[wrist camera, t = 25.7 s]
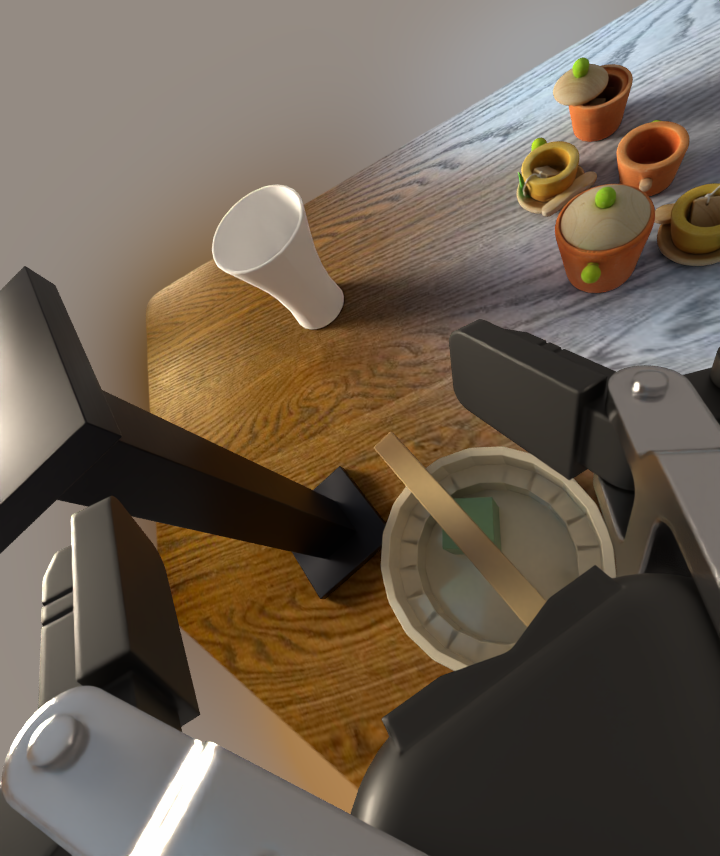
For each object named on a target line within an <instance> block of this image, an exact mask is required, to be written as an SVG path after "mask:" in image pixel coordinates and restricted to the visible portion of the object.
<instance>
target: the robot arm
mask: <svg viewBox="0 0 720 856" xmlns="http://www.w3.org/2000/svg"><path fill="white" fill-rule="evenodd" d="M449 347H450V357H451V368H452V379H453V388H454V391H455V394H456V396H457V398H458V400H459V401H460V403H461V404H462V405H463V406H464V407H465V408H466V409H467V410H469V411H470V412H471V413H473V414H474V415H476V416H477V417H479V418H480V419H482V420H483V421H484V422H486V423H487V424H489V425H490V426H492V427H493V428H494V429H496V430H497V431H499V432H500V433H502V434H503V435H505V436H506V437H507V438H509V439H510V440H512V441H513V442H515V443H516V444H517V445H519V446H520V447H522V448H523V449H525V450H526V451H527V452H529V453H530V454H532V455H533V456H535V457H536V458H538V459H539V460H540V461H542V462H543V463H545V464H546V465H548V466H549V467H550V468H552V469H553V470H555V471H556V472H558V473H559V474H561V475H562V476H563V477H565V478H566V479H568V480H571V479H573V478H574V477H576V476H577V475H579V474H580V473H582V472H584V471H585V470H587V469H589V470H590V471H592V472H593V473H594V478H593V485H594V489H595V492H596V495H597V498H598V501H599V505H600V508H601V511H602V514H603V517H604V521H605V524H606V527H607V530H608V533H609V536H610V540H611V543H612V546H613V549H614V553H615V558H616V575H617V577H615V578H611V577H610V576H608V575H607V574H606V573H605V572H603V571H602V570H601V569H600V568H599V567H597V566H596V565H594V566H593V567H592V568H590V569H589V570H587V571H586V572H585V573H583V574H582V575H580V576H579V577H578V578H576V579H575V580H573V581H572V582H571V583H569V584H568V585H567V586H565V587H564V588H562V589H561V590H560V591H558V592H557V593H555V594H554V595H553V596H551V597H550V598H549V599H548V600H547V601H546V603H545V604H544V605H543V607H542V608H541V609H540V611H539V612H538V614H537V615H536V616H535V618H534V619H533V620H532V622H531V623H530V624H529V626H528V627H527V629H526V630H525V631H524V633H523V634H522V635H521V637H520V638H519V639H518V641H517V642H516V644H515V645H514V646H513V647H512V648H511V649H510V650H509V651H507V652H505V653H503V654H501V655H498V656H495V657H492V658H490V659H487V660H484V661H481V662H479V663H476V664H473V665H470V666H467V667H465V668H462V669H459V670H456V671H454V672H451V673H448V674H445V675H443V676H440V677H439V678H437V679H436V680H434V681H433V682H432V683H430V684H429V685H428V686H426V687H425V688H423V689H422V690H421V691H419V692H418V693H416V694H415V695H414V696H412V697H411V698H409V699H408V700H407V701H405V702H404V703H403V704H401V705H400V706H398V707H397V708H396V709H394V710H393V711H391V712H390V713H389V714H387V715H386V716H384V717H383V718H382V721H383V723H384V725H385V727H386V730H387V732H388V734H389V736H390V737H389V738H388V739H387V740H386V742H385V743H384V744H383V746H382V747H381V748H380V750H379V751H378V753H377V754H376V756H375V758H374V759H373V761H372V763H371V764H370V766H369V768H368V769H367V772H366V774H365V776H364V778H363V780H362V783H361V785H360V787H359V789H358V793H357V796H356V799H355V802H354V805H353V808H352V811H351V814H349V813H347V812H345V811H343V810H341V809H339V808H337V807H335V806H334V805H332V804H330V803H328V802H326V801H324V800H322V799H320V798H318V797H316V796H314V795H312V794H311V793H309V792H307V791H305V790H303V789H301V788H299V787H297V786H295V785H293V784H291V783H290V782H288V781H286V780H284V779H282V778H280V777H278V776H276V775H274V774H272V773H271V772H269V771H267V770H265V769H263V768H261V767H259V766H257V765H255V764H253V763H251V762H250V761H248V760H246V759H244V758H242V757H240V756H238V755H236V754H234V753H232V752H231V751H229V750H226V749H225V748H223V747H221V746H219V745H216V744H214V743H211V742H208V741H206V742H205V743H202V742H200V741H198V740H196V739H193V738H192V737H190V736H188V735H186V734H184V733H182V729H181V727H182V726H183V725H185V724H186V723H188V722H189V721H191V720H193V719H194V718H196V717H197V716H199V715H200V712H199V708H198V703H197V699H196V695H195V691H194V687H193V683H192V679H191V675H190V670H189V666H188V662H187V657H186V653H185V649H184V646H183V641H182V637H181V633H180V628H179V624H178V620H177V616H176V612H175V607H174V603H173V599H172V595H171V591H170V587H169V582H168V578H167V574H166V570H165V567H164V564H163V562H162V559H161V557H160V555H159V553H158V551H157V550H156V548H155V546H154V545H153V543H152V542H151V541H150V540H149V538H148V537H147V536H146V534H145V533H144V532H143V531H142V529H141V528H140V527H139V525H138V524H137V523H136V522H135V520H134V519H133V518H132V517H131V515H130V514H129V513H128V511H127V510H126V509H125V508H124V506H123V505H122V504H121V503H120V501H119V500H118V499H117V498H115V497H114V496H110V497H108V498H106V499H104V500H102V501H100V502H97V503H95V504H93V505H91V506H89V507H87V508H85V509H83V510H81V511H79V512H77V513H75V514H73V515H72V517H71V539H72V545H70V546H68V547H66V548H64V549H62V550H60V551H58V552H56V553H55V555H54V557H53V559H52V561H51V563H50V565H49V568H48V569H47V571H46V574H45V576H44V578H43V589H42V603H43V605H44V607H43V608H42V619H41V620H42V621H41V623H42V625H43V628H41V647H40V675H39V676H40V677H39V705H38V711H37V712H36V713H35V714H34V715H33V716H32V717H31V718H30V719H29V721H28V722H27V723H26V724H25V726H24V727H23V728H22V730H21V731H20V732H19V734H18V736H17V737H16V739H15V741H14V742H13V744H12V746H11V748H10V750H9V752H8V755H7V758H6V761H5V763H4V767H3V772H2V781H1V782H0V856H720V347H719V348H718V351H717V353H716V357H715V360H714V363H713V366H712V368H708V369H704V370H700V371H697V372H693V373H689V374H685V375H682V374H680V373H678V372H676V371H673V370H670V369H667V368H663V367H658V366H646V365H644V366H632V367H628V368H624V369H622V370H619V371H617V372H616V371H613V370H611V369H609V368H607V367H604V366H602V365H600V364H597V363H595V362H593V361H591V360H588V359H586V358H584V357H582V356H579V355H577V354H575V353H573V352H570V351H568V350H566V349H563V350H562V349H561V347H559V346H557V345H555V344H552V343H550V342H549V343H546V341H545V340H543V339H541V338H539V337H536V336H534V335H532V334H530V333H527V332H521V331H514V330H508V329H503V328H501V327H498V326H496V325H494V324H492V323H490V322H487V321H485V320H482V319H479V320H476V321H474V322H472V323H470V324H468V325H466V326H464V327H462V328H460V329H458V330H456V331H454V332H452V333H451V335H450V338H449Z"/></svg>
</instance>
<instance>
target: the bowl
mask: <svg viewBox="0 0 720 856" xmlns="http://www.w3.org/2000/svg"><path fill="white" fill-rule="evenodd" d="M426 469H427V470H428V471H429V472H430V474H431V475H432V476H433V477H434V478H435V479H436V480H437V481H438V482H439V483H440V485H441V486H442V487H443V488H444V489H445V490H446V491H447V492H448V493H449V494H450V496H451V497H452V498H477V497H492V498H493V499H494V501H495V502H496V504H497V505H498V507H499V519H500V536H501V551H502V553H503V554H504V555H505V556H506V557H507V558H508V559H509V560H510V561H511V562H512V564H513V565H514V566H515V567H516V568H517V569H518V570H519V571H520V572H521V573H522V575H523V576H524V577H525V578H526V579H527V580H528V581H529V582H530V583H531V584H532V585H533V587H534V588H535V589H536V590H537V591H538V592H539V593H540V594H541V595H542V596H543V598H544V599H545V600H546V601H547V600H548V599H549V598H550V597H551V596H553V595H554V594H555V593H557V592H558V591H560V590H561V589H562V588H564V587H565V586H567V585H568V584H569V583H571V582H572V581H573V580H575V579H576V578H578V577H579V576H580V575H582V574H583V573H585V572H586V571H587V570H589V569H590V568H592V567H593V566H594V565H596V566H597V567H599V568H600V569H601V570H602V571H603V572H605V573H606V574H607V575H608V576H610V577H611V578H615V577H616V568H615V558H614V549H613V546H612V543H611V540H610V536H609V533H608V530H607V527H606V524H605V522H604V520H603V518H602V515H601V513H600V511H599V509H598V507H597V505H596V503H595V502H594V501H593V500H592V498H591V497H590V496H589V495H588V494H587V493H586V492H585V491H584V490H583V489H582V487H581V486H580V485H579V484H578V483H577V482H576V481H575V480H574V479H571V480H568V479H566V478H565V477H563V476H562V475H561V474H559V473H558V472H556V471H555V470H553V469H552V468H550V467H549V466H548V465H546V464H545V463H543V462H542V461H540V460H539V459H538V458H536V457H535V456H533V455H532V454H530V453H526V452H522V451H518V450H514V449H510V448H506V447H483V448H469V449H466V450H463V451H460V452H457V453H454V454H451V455H449V456H446V457H443V458H440V459H438V460H436V461H435V462H434V463H432V464H431V465H430V466H428V467H427V468H426ZM381 571H382V576H383V580H384V584H385V589H386V593H387V598H388V601H389V604H390V605H391V607H392V609H393V611H394V613H395V614H396V616H397V618H398V620H399V622H400V623H401V625H402V627H403V629H404V631H405V632H406V633H407V635H408V636H409V637H410V638H411V639H412V640H413V641H414V642H415V643H416V644H417V645H418V646H419V647H420V648H421V649H423V650H424V651H425V652H426V653H427V654H428V655H429V656H430V657H431V658H432V659H433V660H434V661H436V662H438V663H440V664H442V665H444V666H446V667H448V668H450V669H452V670H454V671H456V670H459V669H462V668H465V667H467V666H470V665H473V664H476V663H479V662H481V661H484V660H487V659H490V658H492V657H495V656H498V655H501V654H503V653H505V652H507V651H509V650H510V649H511V648H512V647H513V646H514V645H515V644H516V642H517V641H518V639H519V638H520V637H521V635H522V634H523V633H524V631H525V630H526V629H527V626H526V625H525V624H524V623H523V622H522V621H521V619H520V618H519V617H518V616H517V615H516V614H515V612H514V611H513V610H512V609H511V608H510V607H509V605H508V604H507V603H506V602H505V601H504V600H503V598H502V597H501V596H500V595H499V594H498V593H497V591H496V590H495V589H494V588H493V587H492V586H491V584H490V583H489V582H488V581H487V580H486V579H485V577H484V576H483V575H482V574H481V573H480V572H479V570H478V569H477V568H476V567H475V566H474V565H473V563H472V562H471V561H470V560H469V559H468V558H467V556H466V555H455V554H452V553H450V552H448V551H446V550H444V549H443V548H442V527H441V526H440V525H439V524H438V523H437V521H436V520H435V519H434V518H433V517H432V516H431V514H430V513H429V512H428V511H427V510H426V509H425V507H424V506H423V505H422V504H421V503H420V502H419V500H418V499H417V498H416V497H415V496H414V495H413V493H412V492H411V491H410V490H409V489H408V488H407V486H406V488H405V489H404V490H403V492H402V493H401V494H400V496H399V497H398V498H397V500H396V501H395V502H394V504H393V507H392V510H391V512H390V515H389V518H388V521H387V523H386V526H385V529H384V531H383V537H382V553H381Z"/></svg>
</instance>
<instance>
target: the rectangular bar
mask: <svg viewBox="0 0 720 856" xmlns="http://www.w3.org/2000/svg"><path fill="white" fill-rule="evenodd" d="M374 449H375V450H376V451H377V453H378V454H379V455H380V456H381V457H382V458H383V460H384V461H385V462H386V463H387V464H388V465H389V467H390V468H391V469H392V470H393V471H394V472H395V474H396V475H397V476H398V477H399V478H400V479H401V481H402V482H403V483H404V484H405V485H406V486H407V488H408V489H409V490H410V491H411V492H412V493H413V495H414V496H415V497H416V498H417V499H418V500H419V502H420V503H421V504H422V505H423V506H424V507H425V509H426V510H427V511H428V512H429V513H430V514H431V516H432V517H433V518H434V519H435V520H436V521H437V523H438V524H439V525H440V526H441V527H442V528H443V530H444V531H445V532H446V533H447V534H448V535H449V537H450V538H451V539H452V540H453V541H454V542H455V544H456V545H457V546H458V547H459V548H460V549H461V551H462V552H463V553H464V554H465V555H466V556H467V558H468V559H469V560H470V561H471V562H472V563H473V565H474V566H475V567H476V568H477V569H478V570H479V572H480V573H481V574H482V575H483V576H484V577H485V579H486V580H487V581H488V582H489V583H490V584H491V586H492V587H493V588H494V589H495V590H496V591H497V593H498V594H499V595H500V596H501V597H502V598H503V600H504V601H505V602H506V603H507V604H508V605H509V607H510V608H511V609H512V610H513V611H514V612H515V614H516V615H517V616H518V617H519V618H520V619H521V621H522V622H523V623H524V624H525V625H526V626H527V627H528V626H529V624H530V623H531V622H532V620H533V619H534V618H535V616H536V615H537V614H538V612H539V611H540V609H541V608H542V607H543V605H544V604H545V603H546V600H545V599H544V598H543V596H542V595H541V594H540V593H539V592H538V591H537V590H536V589H535V588H534V587H533V585H532V584H531V583H530V582H529V581H528V580H527V579H526V578H525V577H524V576H523V575H522V573H521V572H520V571H519V570H518V569H517V568H516V567H515V566H514V565H513V564H512V562H511V561H510V560H509V559H508V558H507V557H506V556H505V555H504V554H503V553H502V551H501V550H500V549H499V548H498V547H497V546H496V545H495V544H494V543H493V542H492V541H491V539H490V538H489V537H488V536H487V535H486V534H485V533H484V532H483V531H482V530H481V528H480V527H479V526H478V525H477V524H476V523H475V522H474V521H473V520H472V519H471V517H470V516H469V515H468V514H467V513H466V512H465V511H464V510H463V509H462V508H461V507H460V505H459V504H458V503H457V502H456V501H455V500H454V499H453V498H452V497H451V496H450V494H449V493H448V492H447V491H446V490H445V489H444V488H443V487H442V486H441V485H440V483H439V482H438V481H437V480H436V479H435V478H434V477H433V476H432V475H431V474H430V472H429V471H428V470H427V469H426V468H425V467H424V466H423V465H422V464H421V463H420V462H419V460H418V459H417V458H416V457H415V456H414V455H413V454H412V453H411V452H410V451H409V449H408V448H407V447H406V446H405V445H404V444H403V443H402V442H401V441H400V440H399V439H398V438H397V437H396V435H395V434H394V433H393V432H390V433H389V434H388V435H387V436H385V437H384V438H383V439H382V440H381V441H380V442H379V443H378V444H377V445H376V446H375V447H374Z"/></svg>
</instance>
